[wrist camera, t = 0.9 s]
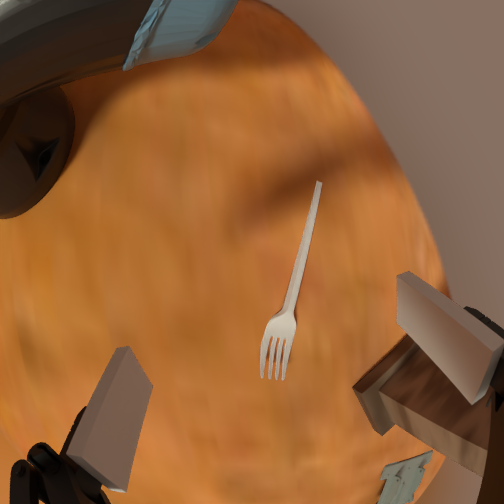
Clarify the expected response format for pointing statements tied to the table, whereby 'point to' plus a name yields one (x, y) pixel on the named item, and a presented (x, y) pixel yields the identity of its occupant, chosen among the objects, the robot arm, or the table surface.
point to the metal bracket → (403, 479)
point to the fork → (289, 302)
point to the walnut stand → (426, 406)
